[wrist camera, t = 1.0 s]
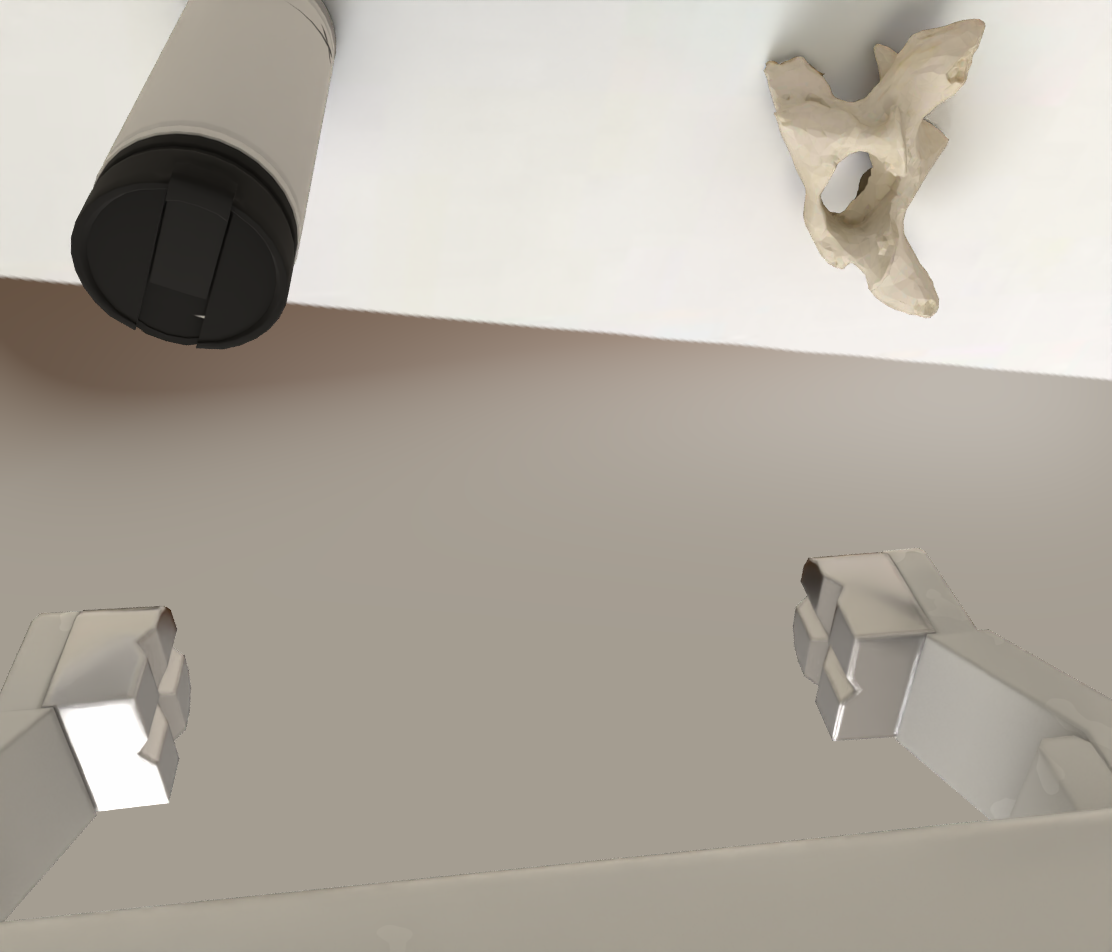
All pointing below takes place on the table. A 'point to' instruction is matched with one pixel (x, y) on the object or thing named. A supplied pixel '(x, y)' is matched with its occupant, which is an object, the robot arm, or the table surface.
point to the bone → (875, 153)
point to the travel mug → (211, 175)
